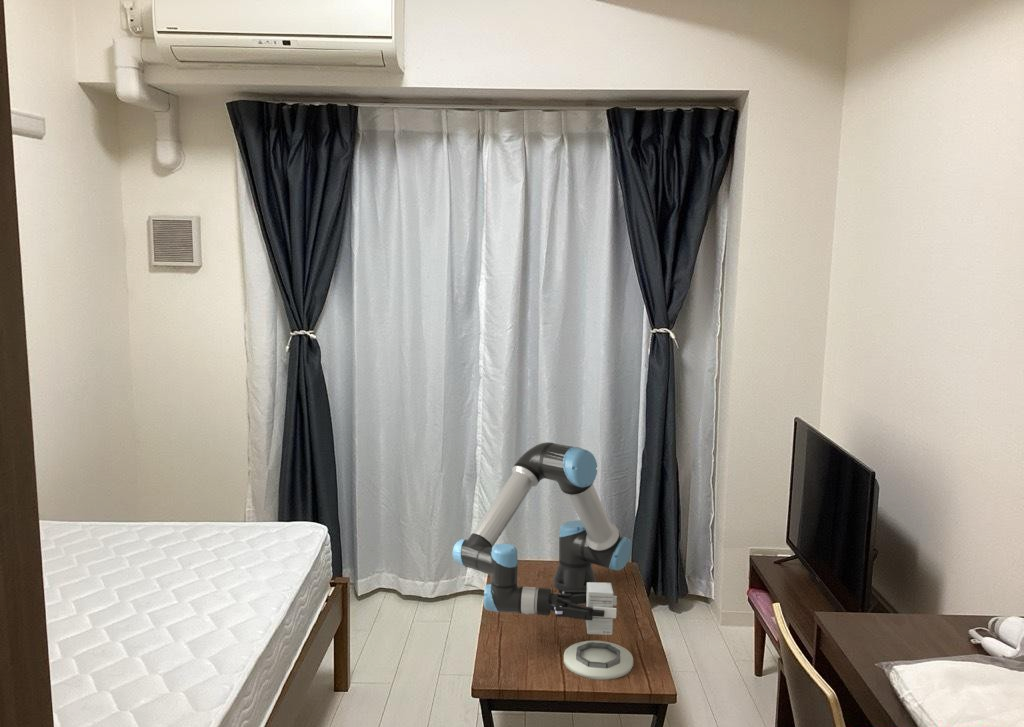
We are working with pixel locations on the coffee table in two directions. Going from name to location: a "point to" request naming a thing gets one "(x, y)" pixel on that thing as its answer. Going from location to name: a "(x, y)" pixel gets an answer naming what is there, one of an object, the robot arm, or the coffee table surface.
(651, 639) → the coffee table surface
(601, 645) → the seat ring
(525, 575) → the coffee table surface
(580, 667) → the plate
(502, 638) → the coffee table surface
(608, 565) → the robot arm
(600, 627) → the supplement box
